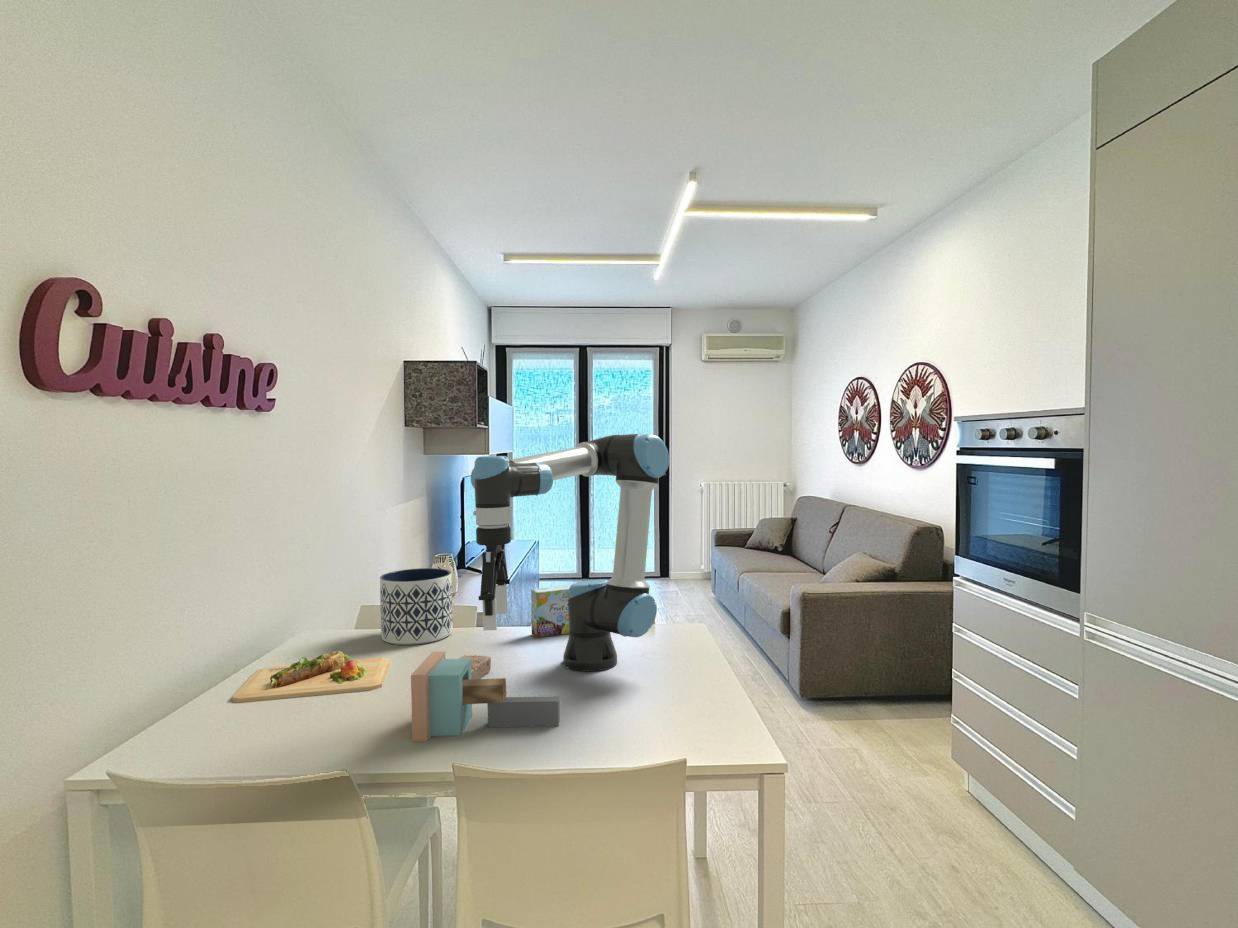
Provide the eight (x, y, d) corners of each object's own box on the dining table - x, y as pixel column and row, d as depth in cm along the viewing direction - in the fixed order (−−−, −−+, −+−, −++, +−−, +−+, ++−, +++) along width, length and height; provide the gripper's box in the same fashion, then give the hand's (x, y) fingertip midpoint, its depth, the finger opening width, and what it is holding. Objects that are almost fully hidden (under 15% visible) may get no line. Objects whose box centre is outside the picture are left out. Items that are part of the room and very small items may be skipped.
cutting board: (390, 663, 194) (390, 637, 194) (381, 691, 171) (380, 662, 171) (258, 674, 186) (257, 647, 186) (230, 706, 164) (228, 675, 163)
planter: (390, 628, 230) (388, 569, 229) (456, 625, 232) (455, 566, 231) (373, 647, 207) (371, 582, 207) (447, 644, 210) (446, 579, 209)
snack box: (537, 638, 214) (536, 592, 214) (531, 634, 219) (530, 588, 219) (597, 629, 224) (596, 584, 223) (590, 625, 229) (589, 581, 228)
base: (446, 710, 157) (445, 651, 156) (426, 740, 141) (425, 674, 140) (433, 710, 157) (432, 651, 156) (412, 741, 141) (410, 675, 140)
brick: (461, 694, 168) (460, 675, 168) (431, 691, 170) (431, 672, 170) (492, 672, 184) (491, 655, 184) (464, 670, 186) (464, 653, 186)
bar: (506, 695, 150) (505, 678, 150) (503, 702, 146) (502, 684, 146) (448, 697, 150) (447, 680, 150) (443, 704, 146) (442, 686, 146)
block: (472, 714, 154) (470, 658, 154) (460, 735, 143) (459, 675, 143) (443, 715, 154) (442, 658, 154) (430, 735, 143) (428, 675, 143)
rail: (559, 720, 150) (559, 696, 150) (558, 725, 147) (558, 701, 147) (490, 721, 150) (489, 697, 150) (487, 726, 147) (487, 702, 147)
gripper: (487, 519, 161) (489, 607, 161) (463, 534, 136) (466, 638, 136) (518, 518, 161) (521, 606, 161) (500, 533, 136) (503, 637, 136)
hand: (496, 621), depth 149 cm, fingers open, 13 cm apart
